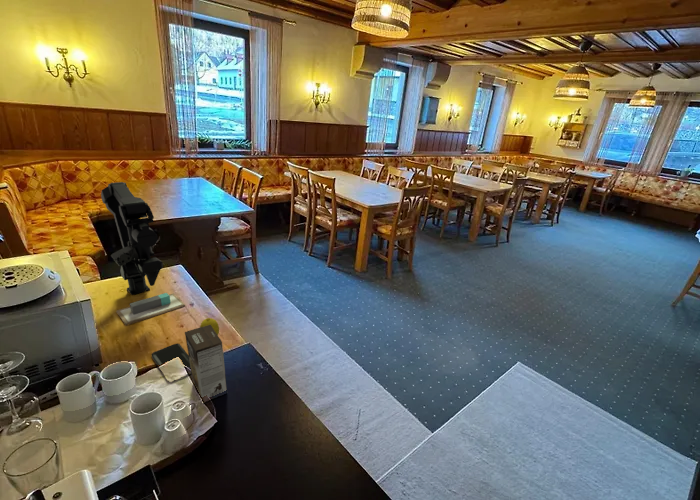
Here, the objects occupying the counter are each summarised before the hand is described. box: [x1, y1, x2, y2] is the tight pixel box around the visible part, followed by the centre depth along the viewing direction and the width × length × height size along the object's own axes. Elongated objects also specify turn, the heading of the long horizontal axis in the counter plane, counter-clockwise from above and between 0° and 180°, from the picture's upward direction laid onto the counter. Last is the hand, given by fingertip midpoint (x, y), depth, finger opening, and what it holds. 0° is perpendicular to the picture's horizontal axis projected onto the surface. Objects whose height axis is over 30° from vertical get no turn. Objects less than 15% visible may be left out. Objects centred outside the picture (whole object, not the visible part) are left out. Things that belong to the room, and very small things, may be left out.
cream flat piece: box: [115, 293, 186, 326], centre depth 122 cm, size 11×19×1 cm, turn 136°
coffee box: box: [184, 325, 228, 397], centre depth 86 cm, size 9×6×16 cm
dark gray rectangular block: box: [129, 292, 171, 315], centre depth 121 cm, size 3×12×3 cm, turn 136°
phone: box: [150, 343, 190, 367], centre depth 97 cm, size 8×1×15 cm
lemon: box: [199, 317, 220, 336], centre depth 106 cm, size 6×6×8 cm
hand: (147, 280), depth 119 cm, fingers open, 9 cm apart
